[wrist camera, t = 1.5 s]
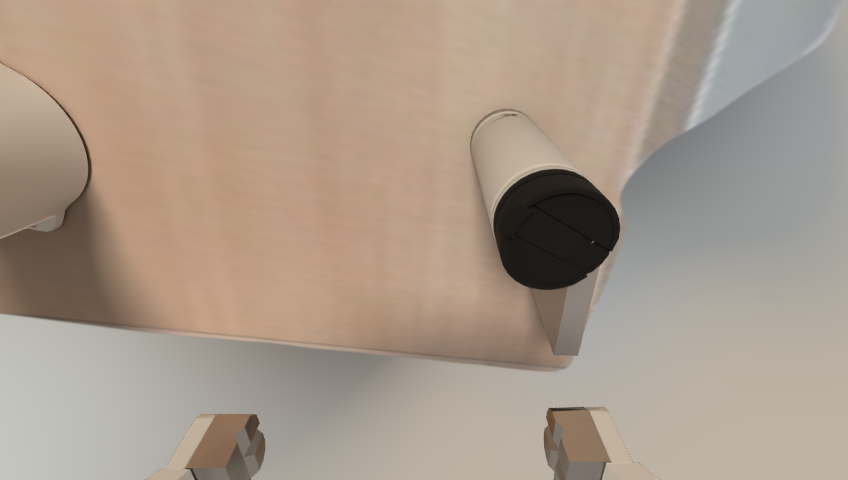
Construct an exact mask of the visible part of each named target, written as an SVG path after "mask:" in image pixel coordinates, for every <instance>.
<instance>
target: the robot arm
mask: <svg viewBox="0 0 848 480" xmlns="http://www.w3.org/2000/svg"><path fill="white" fill-rule="evenodd" d="M87 177H88V161H87V156H86V151H85V148H84V145H83V143H82V140H81V138H80V136H79V134H78V132H77V130H76V128H75V127H74V125H73V123H72V122H71V120H70V119H69V118H68V116H67V115H66V113H65V112H64V111H63V110H62V109H61V107H60V106H59V105H58V104H57V103H56V102H55V101H54V100H53V99H52V98H51V97H50V96H49V95H48V94H47V93H46V92H45V91H43V90H42V89H41V88H40V87H39V86H37V85H36V84H35V83H33V82H32V81H30V80H29V79H27V78H26V77H24V76H23V75H21V74H19V73H17V72H16V71H14V70H12V69H10V68H8V67H6V66H5V65H3V64H2V63H0V239H2V238H5V237H7V236H9V235H12V234H14V233H17V232H19V231H21V230H24V229H32V230H38V231H43V232H49V231H52V230H54V229H57V228H59V227H60V226H61V225H62V222H63V219H64V215H65V210H66V208H67V207H68V206H69V205H70V204H71V203H72V202H73V201H75V200H76V199H77V198H78V197H79V196H80V194H81V193H82V191H83V190H84V187H85V185H86V182H87ZM546 418H547V422H548V426H547V427H546V428H545V431H544V448H545V453H546V458H547V461H548V465H549V466H550V467H551V468H552V469H553V470H554V471H555V474H554V480H660V479H659V478H658V477H656V476H655V475H654V474H653V473H652V472H650V471H649V470H648V469H647V468H645V467H644V466H643V465H642V464H640V463H639V462H633V461H632V459H631V456H630V454H629V452H628V451H627V448H626V446H625V444H624V442H623V440H622V438H621V436H620V434H619V432H618V430H617V428H616V426H615V424H614V422H613V420H612V418H611V416H610V414H609V412H608V410H607V409H606V408H605V407H586V408H584V407H570V408H549V409H548V411H547V416H546ZM258 425H259V420H258V418H257V415H254V414H201V415H200V416H198V417H197V418H196V419H195V420H194V422H193V424H192V425H191V427H190V429H189V430H188V432H187V433H186V435H185V437H184V438H183V440H182V441H181V443H180V445H179V446H178V448H177V450H176V451H175V453H174V454H173V456H172V458H171V459H170V461H169V462H168V464H167V466H166V467H165V469H163V470H158V471H156V472H155V473H154V474H152V475H151V476H150V477H148V478H147V479H146V480H251V477H252V476H254V475H255V474H256V473H257V472H258V471H259V470H260V467H261V465H262V462H263V458H264V453H265V439H264V435H263V433H261V432H260V431H259V430H258V429H257V427H258Z"/></svg>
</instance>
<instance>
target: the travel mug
mask: <svg viewBox="0 0 848 480" xmlns="http://www.w3.org/2000/svg"><path fill="white" fill-rule="evenodd" d="M470 148H471V154H472V158H473V162H474V165H475V169H476V173H477V176H478V180H479V184H480V187H481V191H482V195H483V198H484V202H485V206H486V209H487V213H488V217H489V220H490V224H491V228H492V232H493V235H494V238H495V241H496V243H497V246H498V249H499V253H500V257H501V260H502V263H503V266H504V268H505V269H506V271H507V273H508V274H509V275H510V276H511V277H512V278H513V279H514V280H515V281H517V282H519V283H520V284H522V285H524V286H527V287H530V288H533V289H540V290H555V289H561V288H565V287H569V286H572V285H575V284H576V283H578V282H580V281H581V280H583V279H585V278H586V277H588V276H587V275H586V274H588V273H591V272H593V271H594V270H595V269H596V268H597V267H599V266H600V265H601V264H602V263H603V261H604V260H605V259H606V258H607V257H608V255H609V252H610V251H611V252H612V250H613V248H614V246H615V244H616V243H617V241H618V239H619V232H620V223H619V217H618V215H617V212H616V209H615V208H614V207H613V205H612V204H611V203H610V201H609V200H608V199H607V198H606V197H605V196H604V195H603V194H602V193H601V192H600V191H599V190H598V189H597V188H596V186H595V185H594V184H593V182H592V181H591V180H590V179H589V178H588V177H587V176H586V175H585V174H584V173H583V172H582V171H581V170H580V169H579V168H578V167H577V166H576V165H575V164H574V163H573V162H572V161H571V160H570V159H569V158H568V157H567V156H566V155H565V154H564V153H563V152H562V151H561V150H560V149H559V148H558V147H557V146H556V145H555V144H554V143H553V141H552V140H551V139H550V138H549V137H548V136H547V135H546V134H545V133H544V132H543V131H542V130H541V129H540V128H539V127H538V126H537V125H536V124H535V123H534V122H533V121H532V120H531V119H530V118H529V117H528V116H526V115H525V114H523V113H522V112H520V111H517V110H513V109H502V110H497V111H494V112H492V113H490V114H488V115H487V116H485V117H484V118H483V119H482V120H481V121H480V122H479V123H478V124H477V126H476V127H475V129H474V131H473V133H472V137H471V142H470Z"/></svg>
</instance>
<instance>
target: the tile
mask: <svg viewBox="0 0 848 480" xmlns="http://www.w3.org/2000/svg"><path fill="white" fill-rule="evenodd" d="M599 267H600V266H599ZM599 267H597V268H596V269H595V270H594V271H593V272H591V273H588V274H586V275H587V276H588V277H586V278H585V279H583V280H581V281H580V282H578V283H576V284H575V285H572V286H569V287H565V288H561V289H555V290H540V289H533V288H530V289H531V292H532V295H533V298H534V300H535V303H536V306H537V309H538V312H539V314H540V317H541V320H542V323H543V326H544V328H545V331H546V334H547V337H548V340H549V343H550V345H551V348H552V351H553V354H554V355H576V356H577V355H578V352H579V349H580V345H581V341H582V337H583V333H584V329H585V325H586V321H587V317H588V313H589V309H590V304H591V300H592V296H593V292H594V288H595V284H596V280H597V276H598V271H599Z"/></svg>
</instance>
